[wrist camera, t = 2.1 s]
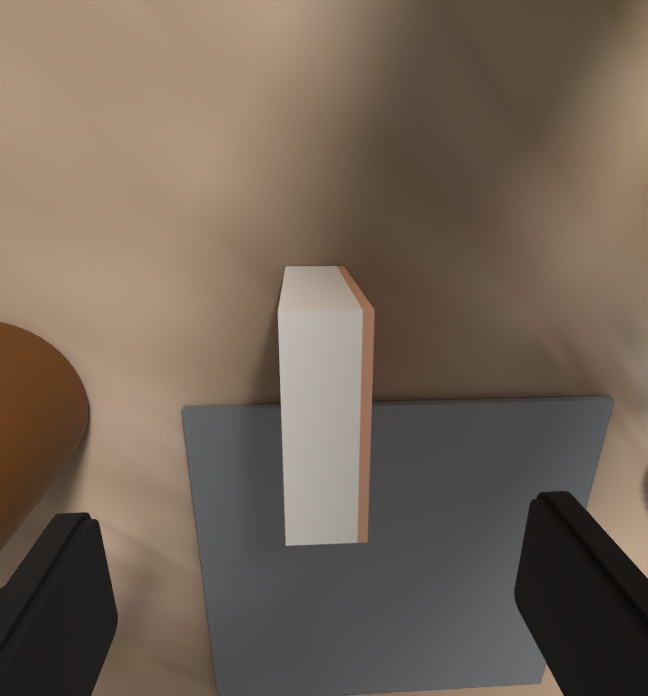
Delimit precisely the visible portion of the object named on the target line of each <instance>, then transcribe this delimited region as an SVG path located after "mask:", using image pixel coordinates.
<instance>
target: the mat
mask: <svg viewBox="0 0 648 696" xmlns="http://www.w3.org/2000/svg"><path fill="white" fill-rule="evenodd" d="M613 403H614V399H613V398H611V397H610V396H581V397H541V398H502V399H462V400H423V401H383V402H372V416H371V448H370V479H369V511H368V542H364V543H340V544H316V545H292V546H286V538H285V508H284V479H283V449H282V420H281V404H265V405H226V406H186V407H183V409H182V418H183V426H184V434H185V442H186V450H187V458H188V466H189V474H190V482H191V490H192V498H193V505H194V513H195V521H196V529H197V537H198V545H199V553H200V561H201V569H202V577H203V585H204V593H205V601H206V609H207V616H208V624H209V632H210V640H211V648H212V656H213V664H214V672H215V680H216V688H217V696H338V695H356V694H373V693H390V692H407V691H424V690H441V689H458V688H475V687H492V686H510V685H527V684H541V681H542V677H543V673H544V669H545V665H546V661H545V659H544V657H543V656H542V654H541V652H540V650H539V648H538V646H537V644H536V642H535V640H534V639H533V637H532V635H531V633H530V631H529V629H528V627H527V625H526V624H525V622H524V620H523V618H522V616H521V614H520V612H519V610H518V608H517V606H516V602H515V598H514V588H515V583H516V577H517V572H518V566H519V561H520V555H521V550H522V544H523V539H524V533H525V528H526V522H527V517H528V511H529V506H530V502H531V501H532V500H533V499H536V498H537V495H538V494H539V493H540V492H550V491H567V492H570V493H571V494H572V495H573V496H574V497H575V498H576V499H577V501H578V502H579V503H580V504H581V505H582V506H583V507H584V508H585V509H586V507H587V503H588V499H589V496H590V492H591V488H592V484H593V480H594V476H595V472H596V469H597V465H598V461H599V457H600V453H601V449H602V445H603V441H604V438H605V434H606V430H607V426H608V422H609V418H610V414H611V411H612V407H613Z"/></svg>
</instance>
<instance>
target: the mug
mask: <svg viewBox="0 0 648 696" xmlns="http://www.w3.org/2000/svg"><path fill="white" fill-rule="evenodd" d="M88 412H89V409H88V400H87V396H86V393H85V389H84V386H83V384H82V382H81V379H80V377H79V376H78V374H77V372H76V371H75V369H74V368H73V366H72V365H71V364H70V362H69V361H68V360H67V359H66V358H65V357H64V356H63V355H62V354H61V353H60V352H59V351H58V350H57V349H56V348H55V347H53V346H52V345H51V344H50V343H48V342H47V341H45V340H44V339H42V338H41V337H39V336H37V335H35V334H33V333H31V332H29V331H26V330H24V329H22V328H19V327H16V326H13V325H9V324H6V323H2V322H0V551H1V549H2V548H3V547H4V545H5V544H6V543H7V542H8V540H9V539H10V538H11V536H12V535H13V534H14V532H15V531H16V530H17V529H18V527H19V526H20V525H21V523H22V522H23V521H24V519H25V518H26V517H27V516H28V514H29V513H30V512H31V510H32V509H33V508H34V506H35V505H36V504H37V503H38V501H39V500H40V499H41V497H42V496H43V494H44V493H45V492H46V490H47V489H48V488H49V486H50V485H51V483H52V482H53V481H54V479H55V478H56V477H57V475H58V474H59V473H60V472H61V470H62V469H63V468H64V466H65V465H66V464H67V462H68V461H69V460H70V458H71V457H72V456H73V454H74V453H75V451H76V449H77V448H78V446H79V444H80V443H81V441H82V438H83V436H84V433H85V430H86V427H87V422H88Z"/></svg>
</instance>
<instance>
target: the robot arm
mask: <svg viewBox="0 0 648 696" xmlns="http://www.w3.org/2000/svg"><path fill="white" fill-rule="evenodd" d="M514 598H515V602H516V606H517V608H518V610H519V612H520V614H521V616H522V618H523V620H524V622H525V624H526V625H527V627H528V629H529V631H530V633H531V635H532V637H533V639H534V640H535V642H536V644H537V646H538V648H539V650H540V652H541V654H542V656H543V657H544V659H545V661H546V663H547V665H548V667H549V669H550V671H551V672H552V674H553V676H554V678H555V680H556V682H557V684H558V686H559V687H560V689H561V691H562V693H563V695H564V696H648V578H647V577H646V576H645V575H644V574H643V573H642V572H641V571H640V570H639V568H638V567H637V566H636V565H635V564H634V563H633V562H632V561H631V560H630V558H629V557H628V556H627V555H626V554H625V553H624V552H623V551H622V550H621V548H620V547H619V546H618V545H617V544H616V543H615V542H614V541H613V540H612V538H611V537H610V536H609V535H608V534H607V533H606V532H605V531H604V530H603V528H602V527H601V526H600V525H599V524H598V523H597V522H596V521H595V520H594V518H593V517H592V516H591V515H590V514H589V513H588V512H587V511H586V509H585V508H584V507H583V506H582V505H581V504H580V503H579V502H578V501H577V499H576V498H575V497H574V496H573V495H572V494H571V493H570V492H567V491H550V492H540V493H539V494H538V495H537V498H536V499H533V500H532V501H531V502H530V506H529V511H528V517H527V522H526V528H525V533H524V539H523V544H522V550H521V555H520V561H519V566H518V572H517V577H516V583H515V588H514ZM117 621H118V615H117V609H116V604H115V599H114V594H113V589H112V584H111V579H110V575H109V570H108V565H107V560H106V555H105V550H104V545H103V540H102V535H101V530H100V525H99V522H98V521H97V520H96V519H91V517H90V515H89V514H88V513H85V512H84V513H62V514H57V515H55V516H54V517H53V519H52V520H51V521H50V523H49V524H48V526H47V527H46V528H45V530H44V531H43V533H42V534H41V536H40V537H39V538H38V540H37V541H36V543H35V544H34V545H33V547H32V548H31V550H30V551H29V553H28V554H27V555H26V557H25V558H24V560H23V561H22V562H21V564H20V565H19V567H18V568H17V570H16V571H15V572H14V574H13V575H12V577H11V578H10V580H9V581H8V582H7V584H6V585H5V586H4V587H2V588H1V589H0V696H91V695H92V692H93V689H94V687H95V684H96V682H97V679H98V677H99V674H100V671H101V669H102V666H103V664H104V661H105V658H106V656H107V653H108V651H109V648H110V646H111V643H112V640H113V638H114V635H115V632H116V628H117Z"/></svg>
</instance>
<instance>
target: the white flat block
mask: <svg viewBox="0 0 648 696" xmlns="http://www.w3.org/2000/svg"><path fill="white" fill-rule="evenodd" d="M374 321H375V310H374V308H373V307H372V305H371V304H370V302H369V301H368V300H367V298H366V297H365V295H364V294H363V292H362V291H361V290H360V288H359V287H358V285H357V284H356V283H355V281H354V280H353V278H352V277H351V275H350V274H349V273H348V271H347V270H346V268H345V267H344V266H287V267H285V272H284V278H283V284H282V290H281V296H280V302H279V308H278V332H279V361H280V391H281V420H282V449H283V479H284V508H285V538H286V546H292V545H316V544H340V543H364V542H368V511H369V479H370V448H371V416H372V385H373V353H374Z"/></svg>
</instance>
